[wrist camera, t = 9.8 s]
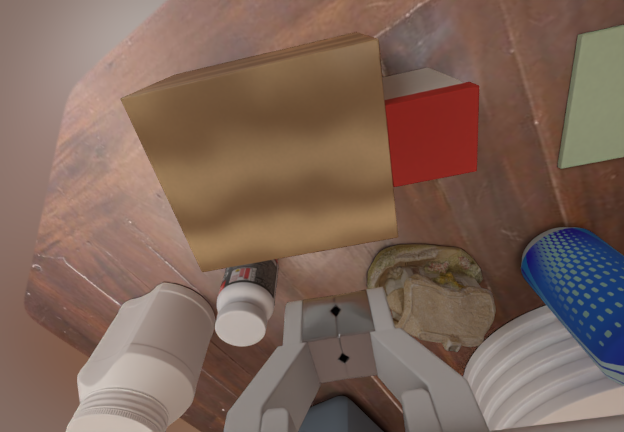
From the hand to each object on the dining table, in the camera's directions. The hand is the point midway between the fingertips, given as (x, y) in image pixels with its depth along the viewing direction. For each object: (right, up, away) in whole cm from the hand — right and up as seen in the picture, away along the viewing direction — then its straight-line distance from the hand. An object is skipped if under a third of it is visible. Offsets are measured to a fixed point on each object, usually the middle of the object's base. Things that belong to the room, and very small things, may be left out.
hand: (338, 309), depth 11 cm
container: (+4, +10, +17) cm, 20 cm away
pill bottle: (-7, -2, +30) cm, 31 cm away
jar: (-19, -10, +34) cm, 40 cm away
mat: (+28, +14, +21) cm, 38 cm away
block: (-3, +11, +22) cm, 25 cm away
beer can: (+27, -1, +29) cm, 40 cm away
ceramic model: (+13, -5, +31) cm, 34 cm away
